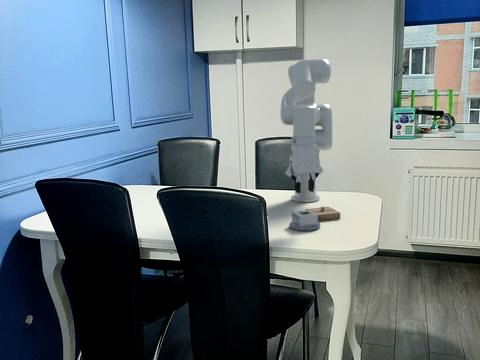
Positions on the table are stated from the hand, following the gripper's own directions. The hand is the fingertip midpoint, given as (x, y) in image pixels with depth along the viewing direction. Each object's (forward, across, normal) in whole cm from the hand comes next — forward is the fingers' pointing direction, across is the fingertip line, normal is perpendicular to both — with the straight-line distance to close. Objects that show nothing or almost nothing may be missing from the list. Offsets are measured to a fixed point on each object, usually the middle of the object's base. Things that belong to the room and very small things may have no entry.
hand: (304, 191), depth 172 cm
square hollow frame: (+12, 0, 0) cm, 12 cm away
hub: (+13, 0, 0) cm, 13 cm away
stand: (+13, +12, +10) cm, 21 cm away
